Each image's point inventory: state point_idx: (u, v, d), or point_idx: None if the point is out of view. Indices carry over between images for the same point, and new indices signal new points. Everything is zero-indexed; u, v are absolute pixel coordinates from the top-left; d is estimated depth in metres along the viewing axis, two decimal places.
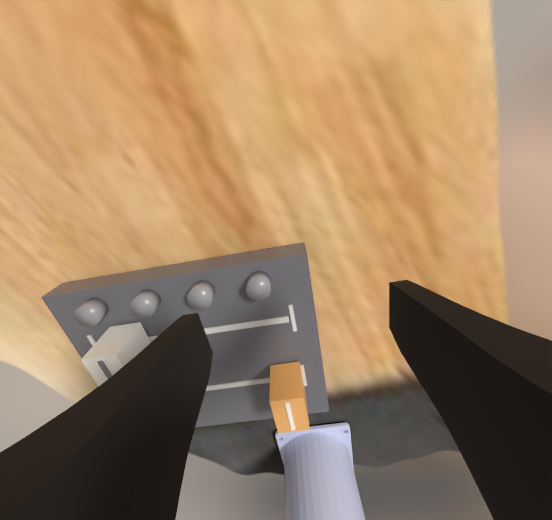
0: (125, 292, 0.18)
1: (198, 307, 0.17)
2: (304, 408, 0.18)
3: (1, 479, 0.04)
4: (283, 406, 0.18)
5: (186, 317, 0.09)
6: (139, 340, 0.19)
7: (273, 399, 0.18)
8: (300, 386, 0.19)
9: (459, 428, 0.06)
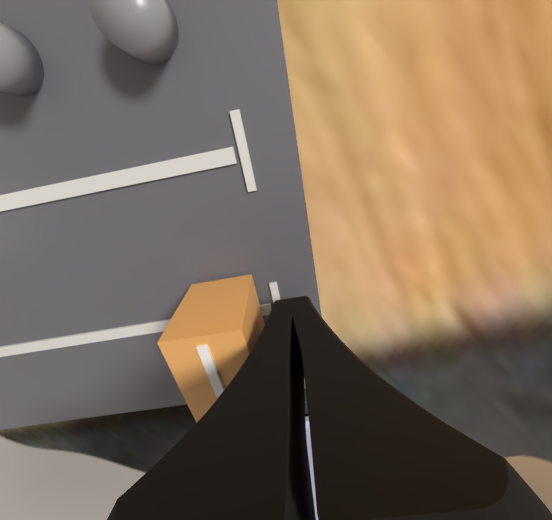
0: None
1: None
2: None
3: (228, 453, 0.04)
4: (194, 355, 0.07)
5: (284, 302, 0.09)
6: None
7: (169, 338, 0.07)
8: (241, 310, 0.08)
9: None
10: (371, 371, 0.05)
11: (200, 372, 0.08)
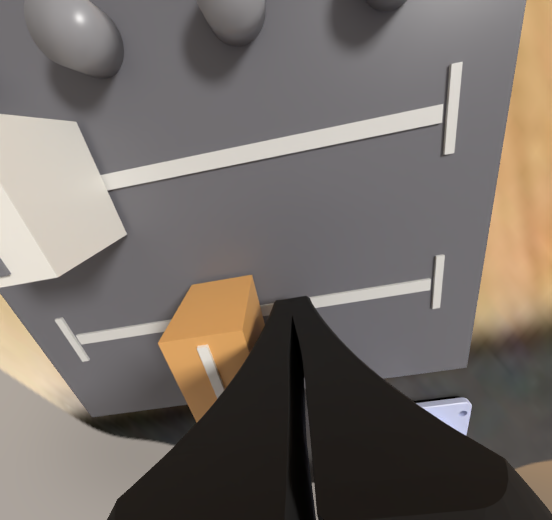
0: None
1: (225, 18, 0.06)
2: None
3: (228, 453, 0.04)
4: (195, 355, 0.07)
5: (284, 302, 0.09)
6: (69, 155, 0.07)
7: (170, 338, 0.07)
8: (241, 310, 0.08)
9: None
10: (371, 371, 0.05)
11: (200, 372, 0.08)
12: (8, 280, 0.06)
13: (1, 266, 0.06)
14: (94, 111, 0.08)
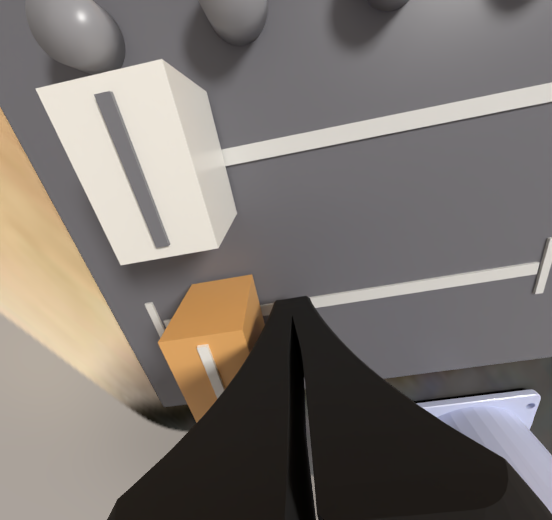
0: None
1: None
2: None
3: (228, 453, 0.04)
4: (195, 355, 0.07)
5: (284, 302, 0.09)
6: (208, 125, 0.07)
7: (170, 338, 0.07)
8: (241, 310, 0.08)
9: None
10: (371, 371, 0.05)
11: (200, 372, 0.08)
12: (164, 251, 0.06)
13: (162, 236, 0.06)
14: (224, 81, 0.07)
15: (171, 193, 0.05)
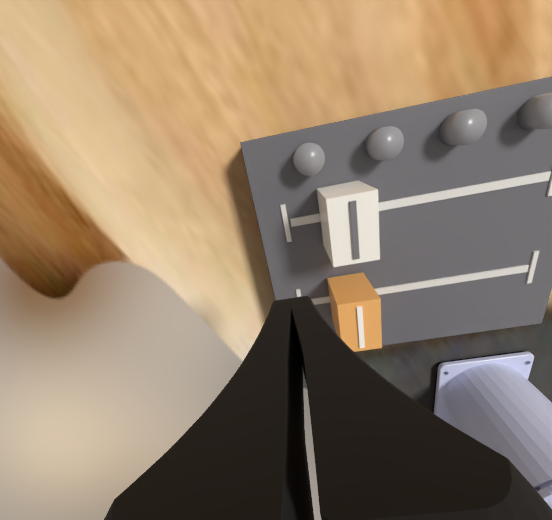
0: (351, 133, 0.14)
1: (464, 140, 0.13)
2: (379, 315, 0.15)
3: (225, 453, 0.04)
4: (354, 312, 0.15)
5: (282, 302, 0.09)
6: None
7: (341, 303, 0.15)
8: (372, 290, 0.15)
9: None
10: (373, 371, 0.05)
11: (353, 321, 0.15)
12: (355, 261, 0.13)
13: (357, 254, 0.13)
14: (366, 174, 0.15)
15: (366, 236, 0.13)
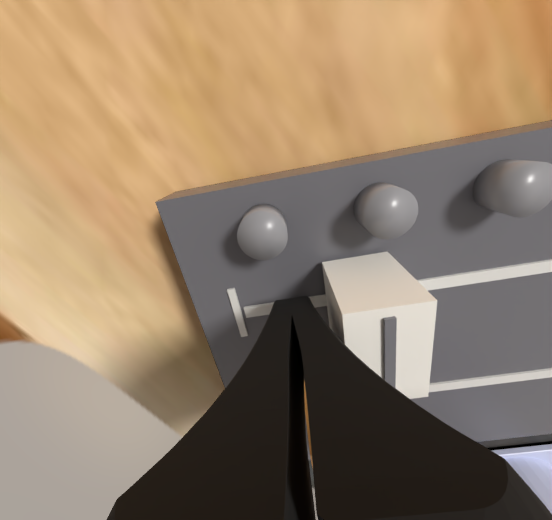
0: (332, 190, 0.09)
1: (518, 211, 0.08)
2: None
3: (228, 453, 0.04)
4: None
5: (284, 302, 0.09)
6: None
7: None
8: None
9: None
10: (371, 371, 0.05)
11: None
12: None
13: None
14: (357, 249, 0.10)
15: (408, 367, 0.07)
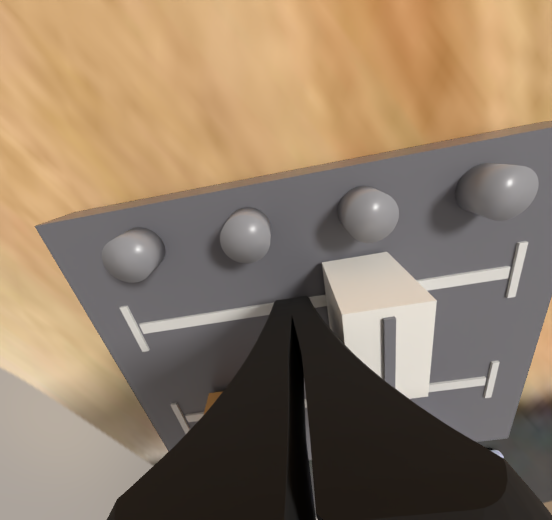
0: (202, 214, 0.09)
1: (365, 237, 0.08)
2: None
3: (228, 453, 0.04)
4: None
5: (284, 302, 0.09)
6: None
7: None
8: None
9: None
10: (371, 371, 0.05)
11: None
12: None
13: None
14: (238, 269, 0.10)
15: (408, 367, 0.07)
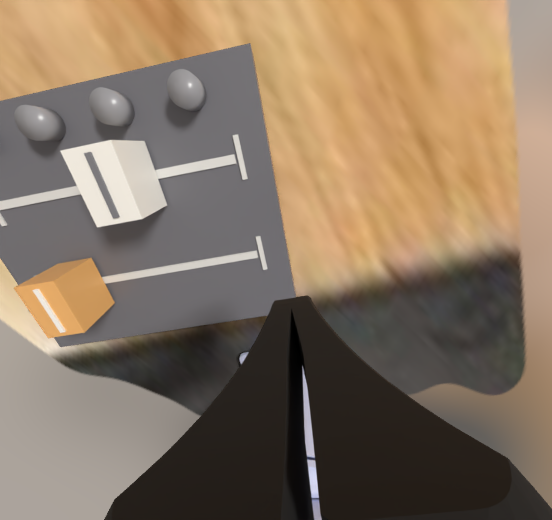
0: None
1: (106, 120, 0.13)
2: (62, 298, 0.15)
3: (225, 453, 0.04)
4: (34, 295, 0.14)
5: (282, 302, 0.09)
6: (143, 159, 0.14)
7: (21, 286, 0.14)
8: (63, 273, 0.15)
9: None
10: (373, 371, 0.05)
11: (39, 304, 0.15)
12: (117, 220, 0.13)
13: (116, 212, 0.13)
14: (52, 156, 0.15)
15: (118, 193, 0.12)
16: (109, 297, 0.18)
